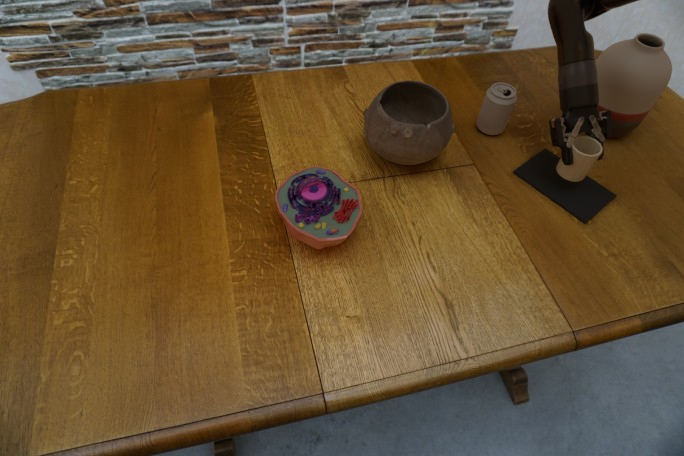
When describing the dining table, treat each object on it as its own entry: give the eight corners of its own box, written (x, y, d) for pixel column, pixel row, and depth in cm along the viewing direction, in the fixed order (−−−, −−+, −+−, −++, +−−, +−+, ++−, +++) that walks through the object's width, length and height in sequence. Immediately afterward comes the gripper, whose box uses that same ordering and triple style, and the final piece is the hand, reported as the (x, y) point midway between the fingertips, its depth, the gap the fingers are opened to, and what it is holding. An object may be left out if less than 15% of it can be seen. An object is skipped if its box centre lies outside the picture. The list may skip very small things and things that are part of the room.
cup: (591, 172, 106) (608, 147, 99) (574, 186, 103) (591, 160, 97) (566, 156, 109) (582, 130, 102) (550, 169, 106) (564, 143, 100)
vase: (567, 134, 120) (612, 52, 101) (569, 96, 130) (610, 15, 111) (635, 149, 117) (695, 68, 99) (632, 110, 127) (685, 29, 108)
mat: (615, 196, 107) (617, 195, 107) (584, 224, 102) (586, 222, 102) (544, 149, 116) (545, 148, 116) (512, 172, 111) (513, 170, 111)
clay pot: (411, 112, 123) (420, 63, 111) (462, 160, 113) (479, 110, 101) (345, 139, 116) (347, 89, 104) (393, 193, 106) (402, 144, 94)
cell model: (297, 275, 92) (295, 242, 83) (269, 203, 103) (263, 167, 94) (374, 250, 96) (380, 216, 87) (339, 184, 107) (340, 147, 98)
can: (499, 141, 118) (514, 102, 108) (471, 130, 120) (484, 92, 110) (507, 124, 122) (523, 86, 112) (480, 115, 124) (493, 76, 114)
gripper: (560, 86, 94) (566, 167, 96) (620, 78, 96) (624, 157, 99) (537, 92, 101) (543, 167, 104) (594, 84, 104) (598, 157, 106)
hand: (583, 162), depth 101 cm, fingers closed on cup, 7 cm apart
